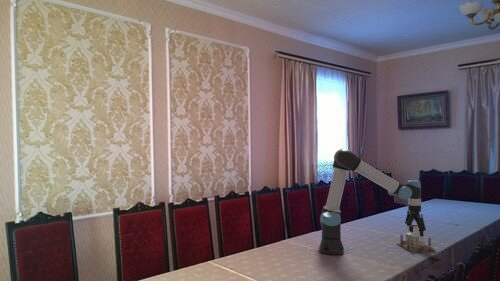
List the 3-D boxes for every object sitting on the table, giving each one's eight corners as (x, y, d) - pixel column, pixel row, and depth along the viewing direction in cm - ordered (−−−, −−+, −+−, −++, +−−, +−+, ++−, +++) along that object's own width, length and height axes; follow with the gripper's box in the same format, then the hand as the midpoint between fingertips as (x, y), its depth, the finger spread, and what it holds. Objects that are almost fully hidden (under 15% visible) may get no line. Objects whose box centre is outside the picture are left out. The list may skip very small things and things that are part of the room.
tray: (410, 252, 211) (409, 239, 211) (397, 244, 227) (396, 233, 227) (435, 251, 212) (434, 239, 212) (420, 243, 228) (420, 232, 228)
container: (405, 245, 222) (405, 225, 222) (415, 243, 224) (414, 223, 224) (415, 248, 215) (414, 227, 215) (424, 247, 217) (424, 226, 217)
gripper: (431, 208, 208) (432, 243, 208) (409, 201, 232) (410, 233, 232) (419, 208, 207) (420, 244, 207) (399, 201, 232) (399, 233, 232)
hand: (415, 238), depth 220 cm, fingers open, 12 cm apart
